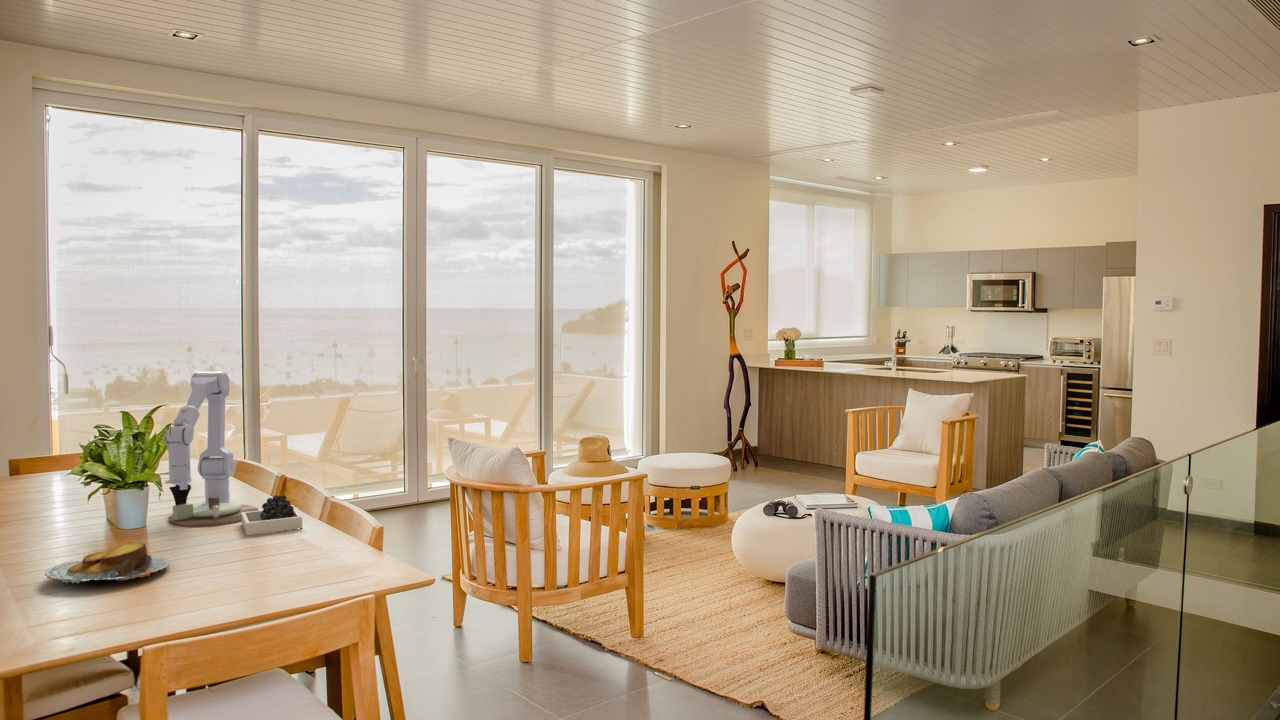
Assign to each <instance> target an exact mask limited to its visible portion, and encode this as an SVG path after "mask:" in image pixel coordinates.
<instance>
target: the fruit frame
mask: <svg viewBox="0 0 1280 720" xmlns="http://www.w3.org/2000/svg"><path fill="white" fill-rule="evenodd" d="M293 508H294V509H293V511H292V512H293V513H294V514H293V516H292V517H290V518H281V519H272V520H263V521H261V519H262V518H261V517H260V515H261V513H262V511H263V510H264V509H260V510H258V511H251V512H241V521H240V523H241V527H242V528H243V529H242V530H243V531H244V533H245V536H252V535H261V534H271V533H277V531H279V532H284V530H288V531H293V530H292V529H296V530H299V529H298V528H302V529H303V516H302V515H301V513H300V512H299V510H297V508H296V506H293ZM270 532H271V533H270Z"/></svg>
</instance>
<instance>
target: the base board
mask: <svg viewBox="0 0 1280 720" xmlns="http://www.w3.org/2000/svg"><path fill="white" fill-rule="evenodd" d="M208 503H209V508H212V506H216V505H219V497H217V496H215V497H209V498H208ZM240 505H241V510H240V511H238V512H235V513H232V514H227V515H222V516H219V518H220V520H217V521H213V517H188V518H183V519H178V520H177V519H173V513H172V514H171V515H169V516H168V523H169V524H171V525H173V526H177V527H188V528H194V527H195V528H196V527H197V528H198V527H200V528H201V527H213V526H215V527H216V526H223V525H229V524H230V525H231V524H234V523H239V522H240V523H241V512H251V511H259V508H258V507H257V506H253V505H249V504H240Z"/></svg>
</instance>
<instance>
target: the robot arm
mask: <svg viewBox="0 0 1280 720" xmlns="http://www.w3.org/2000/svg"><path fill="white" fill-rule="evenodd" d="M228 375H229V374H228V373H227V372H225V371H224V370H223V371H194V372H193V374H191V378H190V386H191V392H190V395H189V397H188V399H187V402H186V405H183V406H181V407H180V408H179V411H178V412H177V415H176V417H175V418H174V420H173V423H172V425H169V426H168V427H169V430H167V427H166V428H165V430H164V432H165V433H164V432H163V442H164V443H165V447H166V446H168V447H167V449H166V451H167V452H168V455H167V456H168V477H169V478H168V479H165V480H164V484H170V485H175V486H170V487H168V489H169V490H170V492H171V493H172V495H173V499H174V504H175V505H180V504H186V503H187V501H188V495H189V493H190V491H191V490H192V486H191V485H192V484H190V483H191V482H192V478H191V477H192V475H191V474H192V473H191V453H190V452H191V450H190V449H191V448H190V446H191V445H190V444H191V443H192V442H193V440H194V434H195V433H194V432H195V426H196V424H197V420H199V417H200V411H199V408H200V407H201V406H202V405H203V402H204V401H205V399H206V400H207V403H208V405H207V406H208V407H207V409H208V410H207V447H206V449H205V450H204V451H202V452H201V453H200V454H199V461H198V463H197V472H198V474H199V475H200V477H202V480H204V497H205V498H204V500H203V502H202V503H203V505H204V504H209V503H208V498H209V497H215V496H217V497H219V503H232V500H231V498H230V478H231V476H232V475H233V474H234V472H235V467H236V465H235V464H236V463H235V460H234V454H233V452H232V451H230V450H229V449H227V448H226V447H225V439H226V437H225V436H226V435H225V433H226V430H225V429H226V428H225V427H226V425H225V424H226V398H227V397H228V396H229V395H230V377H229V376H228ZM170 426H171V436H170ZM175 505H174V506H175Z"/></svg>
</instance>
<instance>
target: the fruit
mask: <svg viewBox="0 0 1280 720" xmlns="http://www.w3.org/2000/svg"><path fill="white" fill-rule="evenodd" d="M293 507H294V506H293V505H291V501H290V500H289V499H287V495H286V494H281V495H277V494H276V495H273V497H268V498H267V499H266V502H264V503H262V505H261V508H262V510H263V511H262V513H261V515H260V517H261V518H262V519H261V521H263V520H272V519H281V518H290V517H292V516H293V514H294V513H293V512H292V511H293V509H294V508H293Z"/></svg>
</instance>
